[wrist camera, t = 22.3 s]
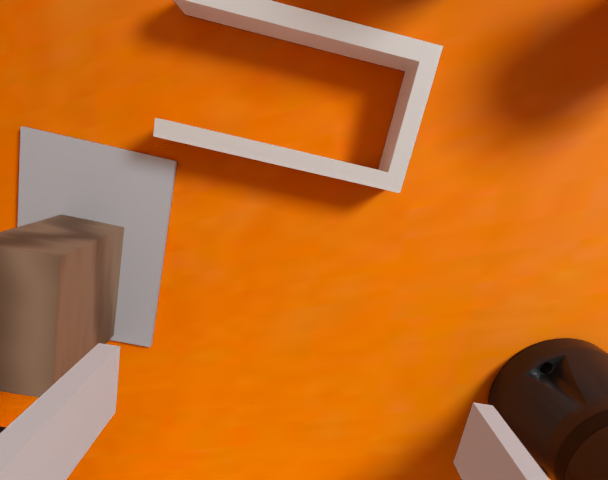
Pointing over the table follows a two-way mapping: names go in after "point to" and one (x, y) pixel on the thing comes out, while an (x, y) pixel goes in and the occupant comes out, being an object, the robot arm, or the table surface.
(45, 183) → the mat
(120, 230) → the walnut block
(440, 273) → the table surface
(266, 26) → the bay
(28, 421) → the robot arm
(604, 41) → the table surface
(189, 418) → the table surface
